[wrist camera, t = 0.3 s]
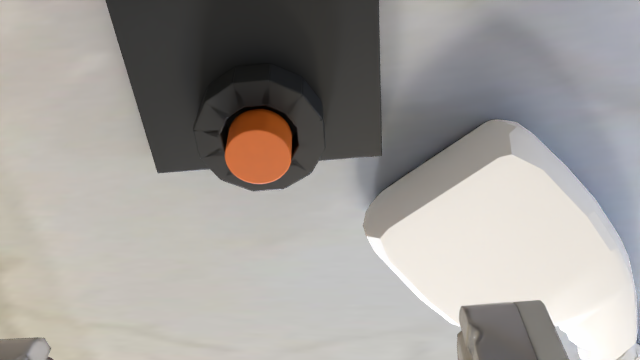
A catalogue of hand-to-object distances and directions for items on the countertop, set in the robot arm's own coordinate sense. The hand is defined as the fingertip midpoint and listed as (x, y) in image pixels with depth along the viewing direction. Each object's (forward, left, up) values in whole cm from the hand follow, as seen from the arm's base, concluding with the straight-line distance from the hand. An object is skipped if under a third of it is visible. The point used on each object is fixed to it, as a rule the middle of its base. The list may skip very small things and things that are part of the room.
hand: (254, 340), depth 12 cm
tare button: (+4, -1, -15) cm, 16 cm away
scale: (0, -1, -18) cm, 18 cm away
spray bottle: (+18, +14, -18) cm, 29 cm away
